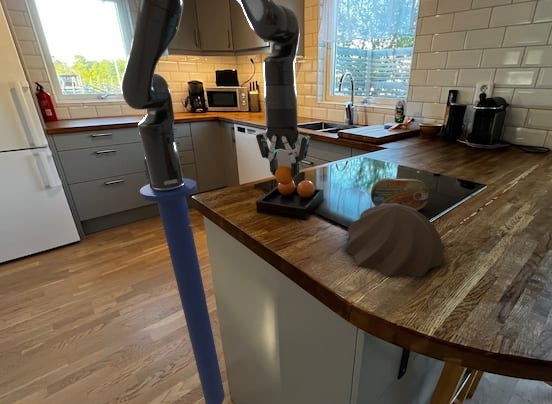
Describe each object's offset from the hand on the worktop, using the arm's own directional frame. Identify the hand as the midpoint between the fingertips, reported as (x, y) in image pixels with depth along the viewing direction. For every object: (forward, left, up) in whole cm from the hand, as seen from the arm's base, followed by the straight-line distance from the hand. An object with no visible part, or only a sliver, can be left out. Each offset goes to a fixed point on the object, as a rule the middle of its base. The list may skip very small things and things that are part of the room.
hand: (284, 174), depth 76 cm
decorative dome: (+29, -10, -10) cm, 32 cm away
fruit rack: (0, +3, -10) cm, 11 cm away
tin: (+28, +11, -10) cm, 32 cm away
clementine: (-2, 0, -2) cm, 2 cm away
